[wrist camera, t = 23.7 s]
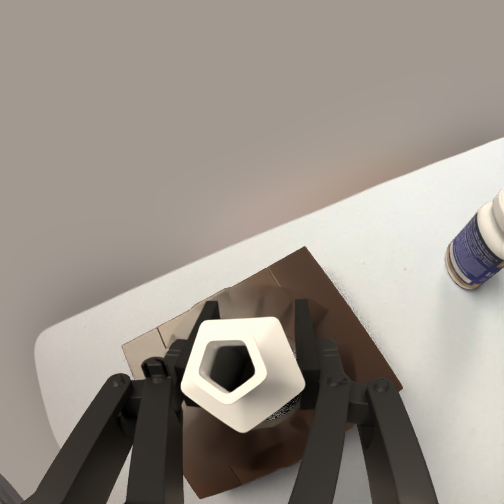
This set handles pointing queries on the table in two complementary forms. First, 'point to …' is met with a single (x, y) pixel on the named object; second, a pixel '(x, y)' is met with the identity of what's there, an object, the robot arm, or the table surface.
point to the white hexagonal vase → (242, 370)
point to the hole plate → (324, 325)
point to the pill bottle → (478, 246)
